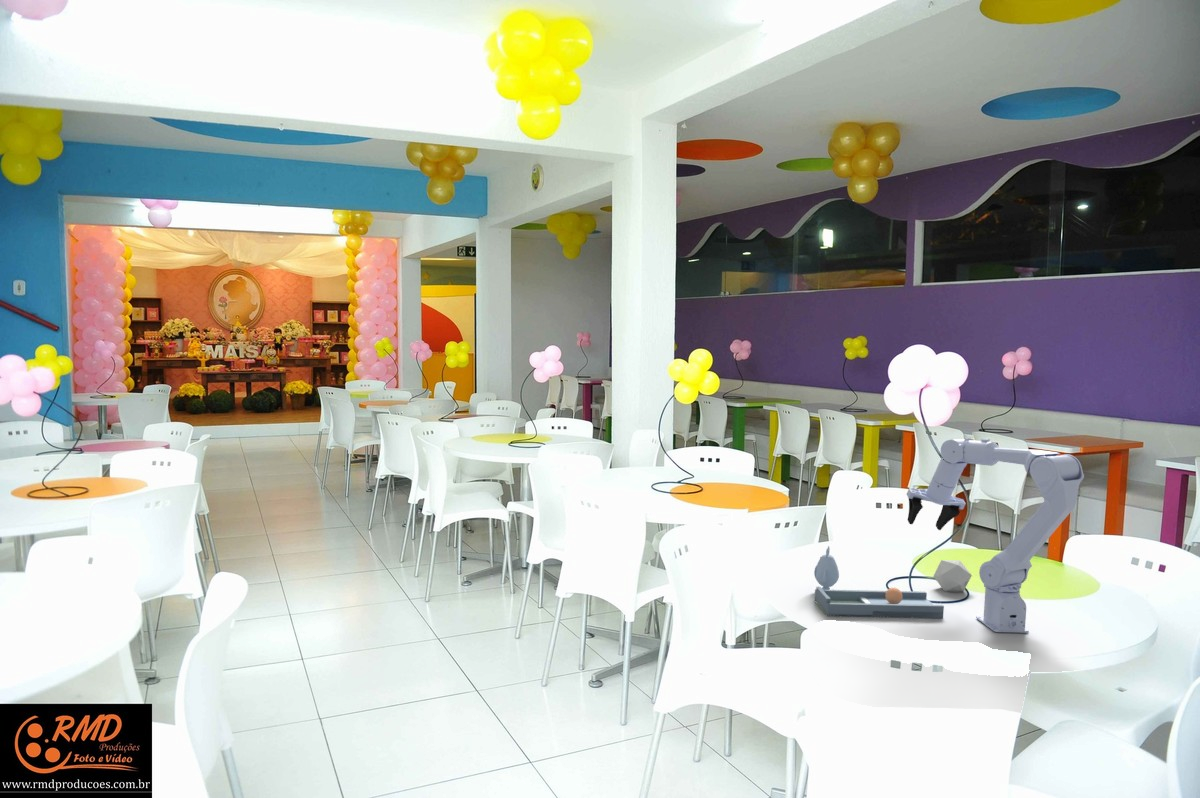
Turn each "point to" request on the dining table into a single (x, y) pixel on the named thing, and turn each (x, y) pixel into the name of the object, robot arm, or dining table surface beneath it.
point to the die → (952, 575)
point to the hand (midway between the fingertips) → (923, 525)
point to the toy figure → (826, 571)
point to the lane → (875, 604)
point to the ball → (893, 596)
